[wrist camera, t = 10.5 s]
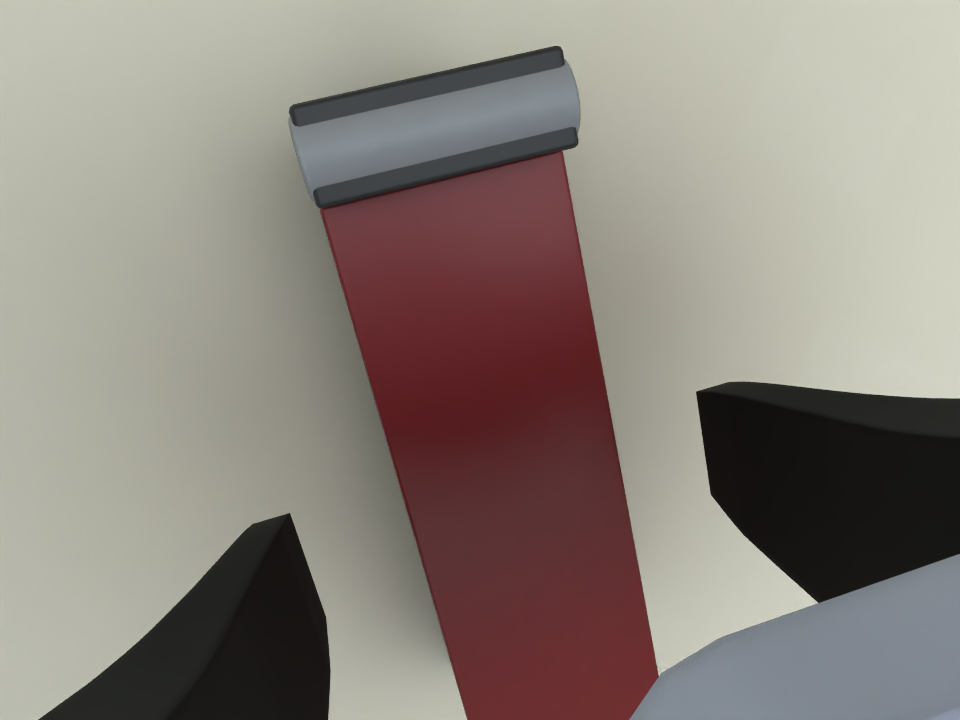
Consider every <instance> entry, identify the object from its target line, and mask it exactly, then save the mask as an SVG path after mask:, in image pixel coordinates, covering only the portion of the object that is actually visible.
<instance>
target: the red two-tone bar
mask: <svg viewBox="0 0 960 720" xmlns="http://www.w3.org/2000/svg"><path fill="white" fill-rule="evenodd" d="M289 114H290V117H289V120H288V123H289V128H290V132H291V136H292V140H293V144H294V147H295V151H296V154H297V158H298V161H299V165H300V168H301V171H302V174H303V178H304V181H305V184H306V187H307V190H308V193H309V195H310V198H311V199H312V200H313V201H315V203H316V205H317V206H318V208H321V209H320V213H321V216H322V219H323V223H324V226H325V230H326V233H327V237H328V240H329V244H330V247H331V251H332V254H333V257H334V261H335V264H336V268H337V271H338V275H339V278H340V282H341V285H342V289H343V292H344V295H345V299H346V302H347V306H348V309H349V313H350V316H351V320H352V323H353V327H354V330H355V333H356V337H357V340H358V344H359V347H360V351H361V354H362V358H363V361H364V365H365V368H366V371H367V375H368V378H369V382H370V385H371V389H372V392H373V396H374V399H375V403H376V406H377V409H378V413H379V416H380V420H381V423H382V427H383V430H384V434H385V437H386V441H387V444H388V447H389V451H390V454H391V458H392V461H393V465H394V468H395V472H396V475H397V479H398V482H399V485H400V489H401V492H402V496H403V499H404V503H405V506H406V510H407V513H408V517H409V520H410V523H411V527H412V530H413V534H414V537H415V541H416V544H417V548H418V551H419V555H420V558H421V561H422V565H423V568H424V572H425V575H426V579H427V582H428V586H429V589H430V593H431V596H432V599H433V603H434V606H435V610H436V613H437V617H438V620H439V624H440V627H441V631H442V634H443V637H444V641H445V644H446V648H447V651H448V655H449V658H450V662H451V665H452V669H453V672H454V675H455V679H456V682H457V686H458V689H459V693H460V696H461V700H462V703H463V707H464V710H465V713H466V717H467V720H629V719H630V718H631V716H632V715H633V713H634V712H635V711H636V709H637V708H638V706H639V705H640V703H641V702H642V700H643V699H644V698H645V696H646V695H647V693H648V692H649V690H650V689H651V687H652V686H653V684H654V683H655V682H656V680H657V679H658V677H659V675H658V670H657V664H656V659H655V653H654V648H653V642H652V637H651V631H650V626H649V621H648V615H647V610H646V604H645V599H644V593H643V588H642V582H641V577H640V571H639V566H638V560H637V555H636V550H635V544H634V539H633V533H632V528H631V522H630V517H629V511H628V506H627V500H626V495H625V489H624V484H623V479H622V473H621V468H620V462H619V457H618V451H617V446H616V440H615V435H614V429H613V424H612V418H611V413H610V408H609V402H608V397H607V391H606V386H605V380H604V375H603V369H602V364H601V358H600V353H599V347H598V342H597V337H596V331H595V326H594V320H593V315H592V309H591V304H590V298H589V293H588V287H587V282H586V276H585V271H584V266H583V260H582V255H581V249H580V244H579V238H578V233H577V227H576V222H575V216H574V211H573V205H572V200H571V195H570V189H569V184H568V178H567V173H566V167H565V162H564V156H563V152H562V151H563V150H567V149H571V148H574V147H576V146H577V145H578V135H577V133H578V131H579V126H580V101H579V94H578V89H577V85H576V81H575V78H574V75H573V73H572V70H571V68H570V66H569V64H568V62H567V61H566V60H565V59H564V56H563V51H562V49H561V47H559V46H553V47H548V48H544V49H539V50H535V51H530V52H526V53H521V54H517V55H513V56H508V57H504V58H499V59H495V60H490V61H486V62H481V63H477V64H472V65H468V66H463V67H459V68H454V69H450V70H445V71H441V72H437V73H432V74H428V75H423V76H419V77H414V78H410V79H405V80H401V81H396V82H392V83H387V84H383V85H378V86H374V87H369V88H365V89H361V90H356V91H352V92H347V93H343V94H338V95H334V96H329V97H325V98H320V99H316V100H311V101H307V102H302V103H298V104H294V105H292V106H291V107H290V109H289Z"/></svg>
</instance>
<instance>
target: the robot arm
mask: <svg viewBox="0 0 960 720" xmlns="http://www.w3.org/2000/svg"><path fill="white" fill-rule="evenodd" d="M696 395H697V402H698V409H699V415H700V422H701V429H702V436H703V443H704V450H705V457H706V464H707V471H708V478H709V485H710V492H711V495H712V497H713V498H714V499H715V500H716V502H717V503H718V504H719V505H720V507H721V508H722V509H723V511H724V512H725V513H726V514H727V516H728V517H729V518H730V519H731V521H732V522H733V523H734V524H735V525H736V526H737V528H738V529H739V530H740V531H741V532H742V533H743V535H744V536H745V537H747V538H748V539H749V540H750V541H751V542H752V543H753V544H754V545H755V546H756V547H757V548H758V549H759V550H760V551H762V552H763V553H764V554H765V555H766V556H767V557H768V558H769V559H770V560H771V561H772V562H773V563H775V564H776V565H777V566H778V567H779V568H780V569H781V570H782V571H783V572H785V573H786V574H787V575H788V576H789V577H790V578H791V579H792V580H794V581H795V582H796V583H797V584H798V585H799V586H800V587H801V588H802V589H804V590H805V591H806V592H807V593H808V594H809V595H810V596H811V597H812V598H814V599H815V600H816V601H817V602H818V604H815V605H812V606H809V607H806V608H804V609H801V610H798V611H795V612H792V613H789V614H786V615H783V616H781V617H778V618H775V619H772V620H769V621H766V622H763V623H761V624H758V625H755V626H752V627H749V628H746V629H743V630H741V631H738V632H735V633H732V634H729V635H726V636H723V637H721V638H719V639H717V640H715V641H714V642H712V643H710V644H709V645H707V646H705V647H704V648H702V649H700V650H699V651H697V652H696V653H694V654H692V655H691V656H689V657H687V658H686V659H684V660H682V661H681V662H679V663H677V664H676V665H674V666H673V667H671V668H669V669H668V670H666V671H664V672H663V673H662V674H660V676H659V677H658V679H657V680H656V682H655V683H654V684H653V686H652V687H651V689H650V690H649V692H648V693H647V695H646V696H645V698H644V699H643V700H642V702H641V703H640V705H639V706H638V708H637V709H636V711H635V712H634V713H633V715H632V716H631V718H630V719H629V720H960V399H947V398H913V397H898V396H884V395H871V394H860V393H850V392H840V391H831V390H822V389H814V388H805V387H797V386H788V385H779V384H769V383H757V382H727V383H724V384H721V385H717V386H714V387H710V388H707V389H704V390H700V391H697V392H696ZM329 693H330V657H329V644H328V634H327V623H326V616H325V613H324V610H323V607H322V604H321V602H320V599H319V596H318V593H317V590H316V587H315V584H314V581H313V578H312V576H311V573H310V570H309V567H308V564H307V561H306V558H305V555H304V552H303V550H302V547H301V544H300V541H299V538H298V535H297V532H296V529H295V526H294V523H293V521H292V518H291V515H290V513H288V514H285V515H282V516H278V517H275V518H272V519H268V520H265V521H262V522H258V523H255V524H252V525H251V526H250V527H249V528H247V529H246V530H245V531H244V532H243V533H242V534H241V535H240V536H239V537H238V539H237V540H236V541H235V542H234V543H233V544H232V545H231V546H230V547H229V548H228V550H227V551H226V552H225V553H224V554H223V555H222V556H221V557H220V559H219V560H218V561H217V562H216V563H215V564H214V565H213V566H212V567H211V568H210V570H209V571H208V572H207V573H206V574H205V575H204V576H203V577H202V578H201V580H200V581H199V582H198V583H197V584H196V585H195V586H194V587H193V588H192V589H191V590H190V591H189V592H188V593H187V594H186V595H185V596H184V597H183V598H182V599H181V600H180V601H179V602H178V603H177V604H176V605H175V606H174V607H173V608H172V609H171V610H170V612H169V613H168V614H167V615H166V616H165V617H164V618H163V619H162V620H161V621H160V622H159V623H158V624H157V625H156V626H155V627H154V628H153V629H152V630H150V631H149V632H148V633H147V634H146V635H145V636H144V637H143V638H142V639H141V640H140V641H139V642H137V643H136V644H135V645H134V646H133V647H132V648H131V649H130V650H128V651H127V652H126V653H125V654H124V655H123V656H121V657H120V658H119V659H118V660H117V661H115V662H114V663H113V664H112V665H110V666H109V667H108V668H107V669H106V670H104V671H103V672H102V673H101V674H100V675H98V676H97V677H96V678H95V679H93V680H92V681H91V682H90V683H88V684H87V685H86V686H84V687H83V688H81V689H80V690H79V691H77V692H76V693H75V694H73V695H72V696H70V697H69V698H68V699H66V700H65V701H63V702H62V703H61V704H59V705H58V706H57V707H55V708H54V709H52V710H51V711H50V712H48V713H47V714H45V715H44V716H43V717H41V718H40V719H39V720H328V711H329Z"/></svg>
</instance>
